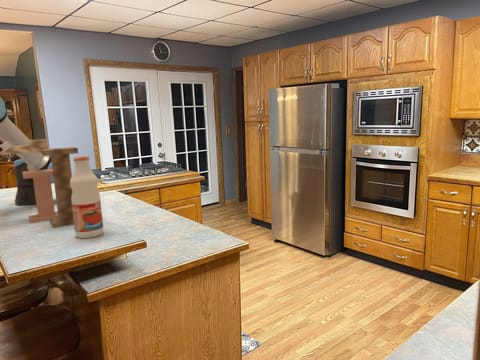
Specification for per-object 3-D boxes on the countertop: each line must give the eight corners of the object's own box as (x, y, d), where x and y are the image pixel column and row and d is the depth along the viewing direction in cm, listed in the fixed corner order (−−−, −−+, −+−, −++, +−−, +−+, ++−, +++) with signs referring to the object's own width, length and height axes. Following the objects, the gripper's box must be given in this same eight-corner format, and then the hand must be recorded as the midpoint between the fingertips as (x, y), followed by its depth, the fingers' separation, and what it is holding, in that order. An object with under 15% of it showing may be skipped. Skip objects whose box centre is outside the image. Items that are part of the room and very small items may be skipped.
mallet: (46, 151, 155) (44, 139, 154) (48, 151, 149) (46, 139, 148) (-10, 155, 144) (-12, 142, 143) (-11, 156, 138) (-13, 142, 138)
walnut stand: (81, 217, 154) (73, 147, 149) (85, 222, 147) (77, 148, 142) (50, 222, 148) (40, 149, 143) (53, 227, 140) (43, 150, 135)
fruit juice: (89, 229, 136) (81, 155, 131) (109, 231, 133) (101, 155, 128) (69, 237, 127) (60, 158, 123) (90, 239, 124) (81, 158, 119)
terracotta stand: (62, 213, 162) (56, 168, 158) (64, 217, 155) (59, 170, 152) (28, 219, 155) (22, 171, 151) (30, 223, 148) (23, 173, 145)
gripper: (-40, 183, 144) (16, 150, 153) (-44, 189, 130) (17, 152, 139) (-55, 168, 141) (3, 135, 150) (-61, 172, 127) (3, 135, 136)
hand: (10, 143), depth 144 cm, fingers closed on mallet, 3 cm apart
